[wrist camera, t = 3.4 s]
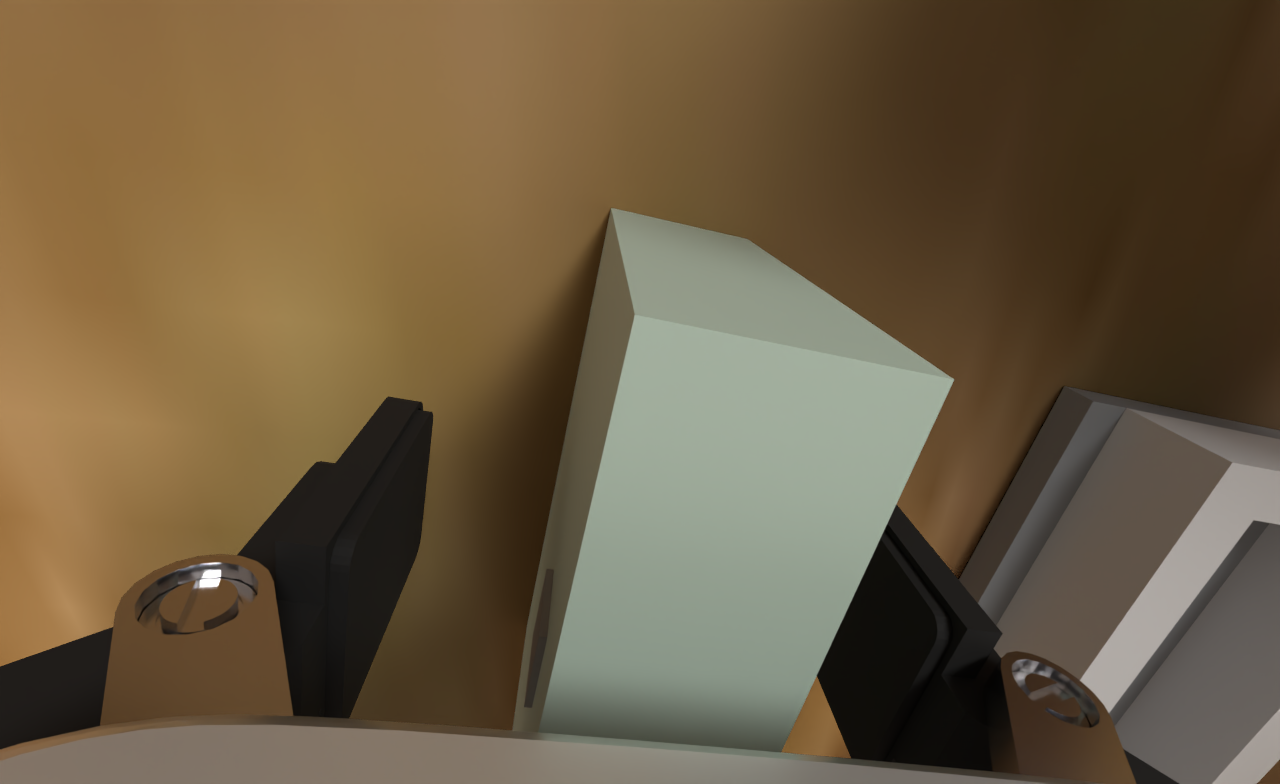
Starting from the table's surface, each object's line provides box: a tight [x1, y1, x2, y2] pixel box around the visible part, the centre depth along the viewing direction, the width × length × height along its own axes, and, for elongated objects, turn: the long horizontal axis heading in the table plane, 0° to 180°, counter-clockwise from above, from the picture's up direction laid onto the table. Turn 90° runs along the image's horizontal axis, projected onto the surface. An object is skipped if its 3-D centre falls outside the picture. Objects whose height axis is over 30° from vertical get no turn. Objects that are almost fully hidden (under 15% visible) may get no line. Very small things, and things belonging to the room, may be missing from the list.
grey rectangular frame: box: [959, 386, 1280, 784], centre depth 15 cm, size 8×15×3 cm, turn 167°
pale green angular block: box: [513, 208, 954, 752], centre depth 10 cm, size 3×10×7 cm, turn 167°
